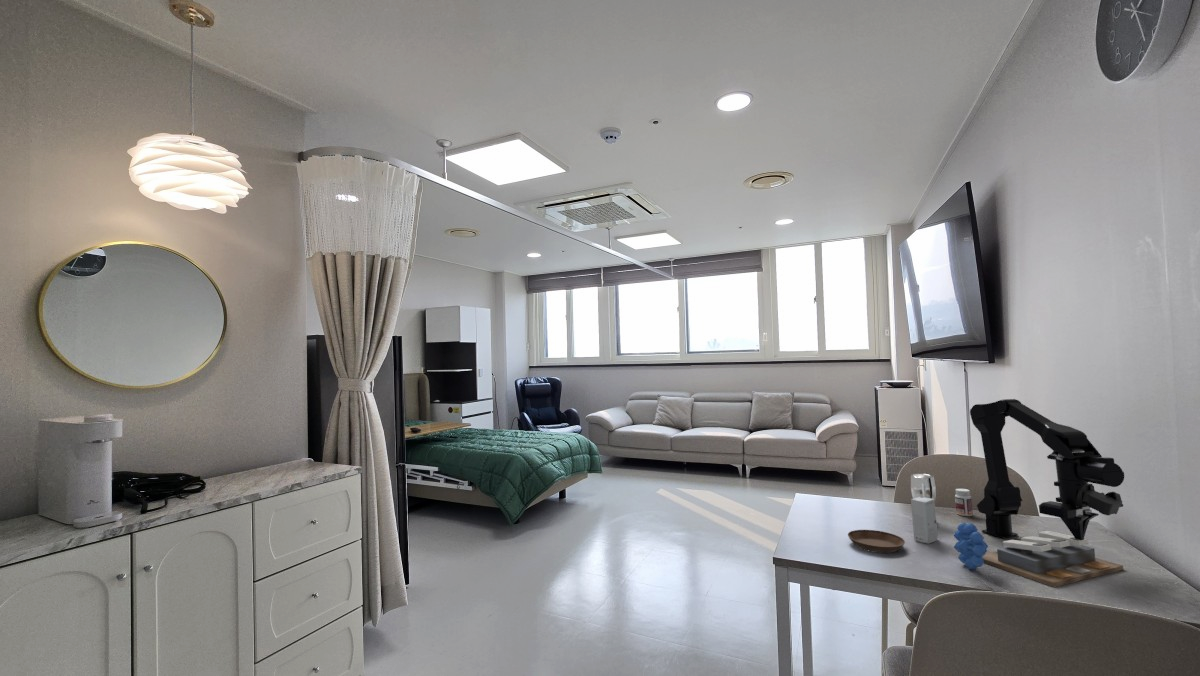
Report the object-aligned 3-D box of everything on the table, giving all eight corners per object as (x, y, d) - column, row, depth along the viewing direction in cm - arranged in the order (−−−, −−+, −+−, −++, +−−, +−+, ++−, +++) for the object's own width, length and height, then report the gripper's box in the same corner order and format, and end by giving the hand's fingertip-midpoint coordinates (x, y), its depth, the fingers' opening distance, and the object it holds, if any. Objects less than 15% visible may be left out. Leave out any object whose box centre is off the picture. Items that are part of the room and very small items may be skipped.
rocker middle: (1031, 540, 134) (1029, 535, 134) (1070, 545, 125) (1068, 539, 126) (1021, 542, 132) (1020, 537, 133) (1060, 547, 124) (1059, 541, 124)
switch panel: (1040, 545, 141) (1039, 528, 141) (1123, 569, 124) (1121, 549, 124) (975, 559, 133) (973, 541, 134) (1053, 587, 116) (1051, 566, 116)
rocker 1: (1013, 544, 131) (1011, 538, 132) (1051, 549, 123) (1049, 543, 123) (1003, 546, 130) (1002, 540, 131) (1041, 551, 122) (1040, 545, 122)
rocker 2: (1047, 535, 136) (1047, 529, 136) (1088, 543, 127) (1087, 538, 128) (1039, 536, 135) (1038, 531, 135) (1079, 545, 126) (1078, 540, 126)
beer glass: (908, 518, 169) (905, 474, 170) (927, 517, 170) (924, 473, 171) (923, 524, 163) (919, 478, 163) (943, 523, 163) (939, 477, 164)
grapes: (1004, 579, 121) (1000, 529, 122) (974, 578, 122) (970, 528, 123) (976, 560, 133) (972, 515, 133) (949, 560, 134) (945, 514, 134)
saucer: (902, 541, 149) (901, 532, 150) (909, 559, 136) (908, 549, 136) (847, 536, 156) (846, 527, 156) (849, 552, 142) (848, 542, 142)
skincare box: (929, 544, 145) (926, 502, 146) (912, 540, 149) (909, 499, 150) (938, 539, 149) (935, 498, 150) (922, 535, 153) (919, 495, 153)
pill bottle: (970, 512, 173) (968, 488, 174) (975, 516, 169) (973, 491, 169) (954, 512, 175) (952, 487, 175) (958, 515, 170) (956, 491, 171)
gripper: (1087, 488, 118) (1095, 556, 117) (1135, 480, 124) (1144, 545, 123) (1034, 480, 129) (1041, 542, 128) (1081, 473, 135) (1088, 532, 133)
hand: (1079, 540), depth 128 cm, fingers closed, pressing on rocker 2
